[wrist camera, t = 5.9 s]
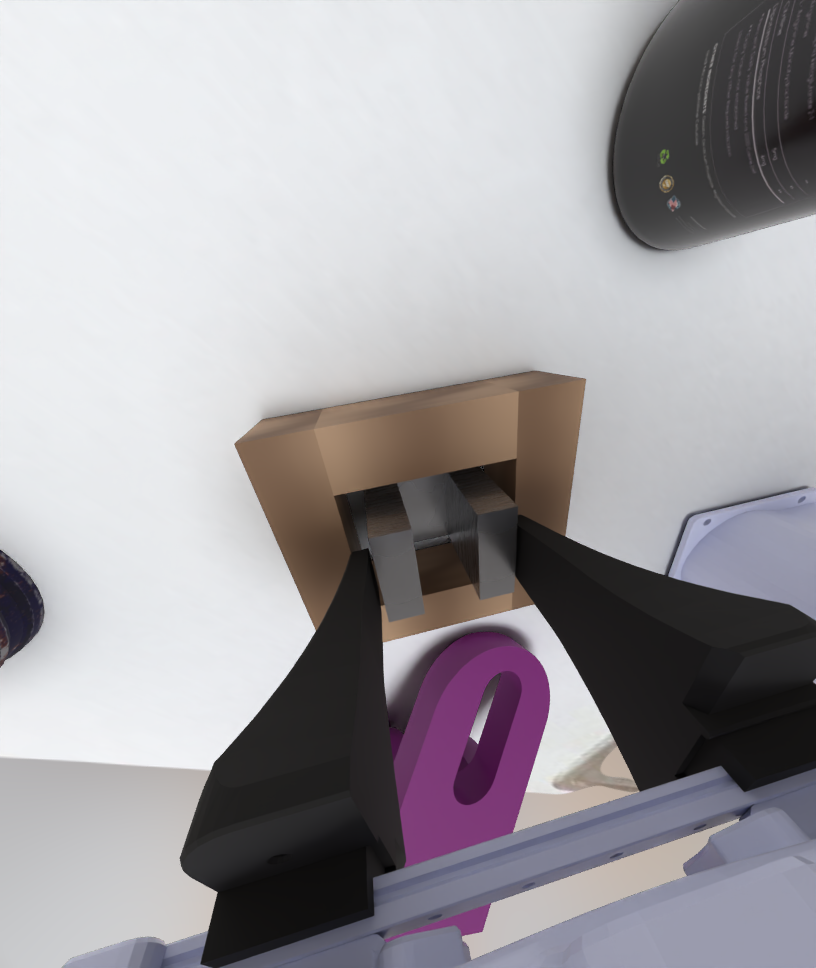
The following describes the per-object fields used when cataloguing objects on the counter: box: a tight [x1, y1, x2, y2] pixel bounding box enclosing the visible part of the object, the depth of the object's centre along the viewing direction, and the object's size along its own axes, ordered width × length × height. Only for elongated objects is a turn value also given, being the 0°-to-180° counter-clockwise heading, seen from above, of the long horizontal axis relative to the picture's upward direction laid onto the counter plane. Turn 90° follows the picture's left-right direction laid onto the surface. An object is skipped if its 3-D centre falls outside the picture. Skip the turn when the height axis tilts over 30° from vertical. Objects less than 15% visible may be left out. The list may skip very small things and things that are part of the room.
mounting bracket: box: [385, 632, 550, 942], centre depth 22 cm, size 9×8×18 cm
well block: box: [234, 371, 586, 642], centre depth 14 cm, size 12×11×3 cm
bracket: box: [364, 466, 518, 622], centre depth 13 cm, size 5×4×6 cm
